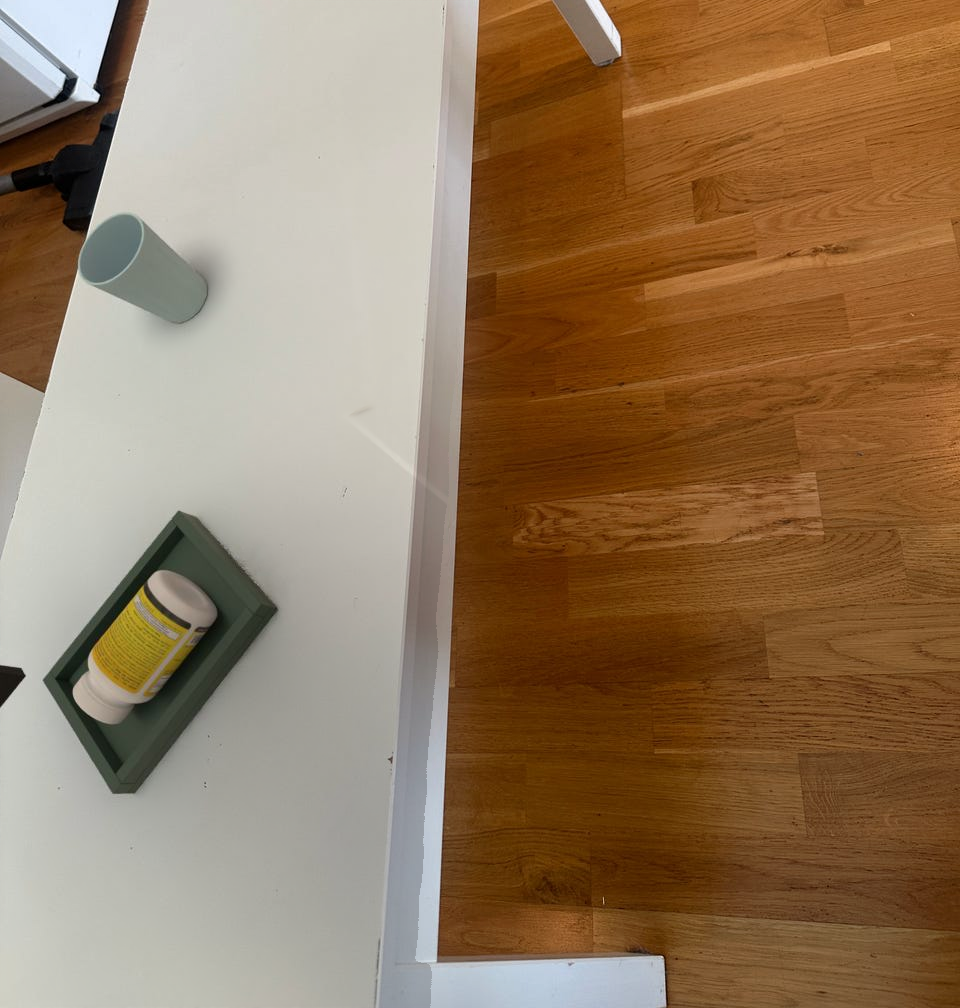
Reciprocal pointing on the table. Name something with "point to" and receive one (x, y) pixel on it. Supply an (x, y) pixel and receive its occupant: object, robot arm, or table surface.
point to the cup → (141, 269)
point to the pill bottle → (144, 646)
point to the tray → (162, 719)
